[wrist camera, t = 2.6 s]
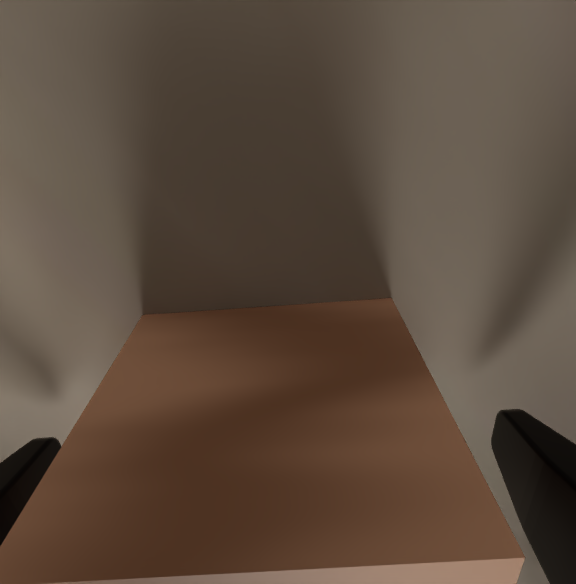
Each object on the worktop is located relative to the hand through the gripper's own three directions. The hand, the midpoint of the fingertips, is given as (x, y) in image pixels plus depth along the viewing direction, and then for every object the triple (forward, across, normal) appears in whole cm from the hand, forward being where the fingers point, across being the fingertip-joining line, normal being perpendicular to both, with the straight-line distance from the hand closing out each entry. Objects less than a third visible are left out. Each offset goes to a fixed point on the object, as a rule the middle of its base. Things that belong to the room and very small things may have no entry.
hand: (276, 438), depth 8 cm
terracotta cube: (+1, 0, 0) cm, 1 cm away
